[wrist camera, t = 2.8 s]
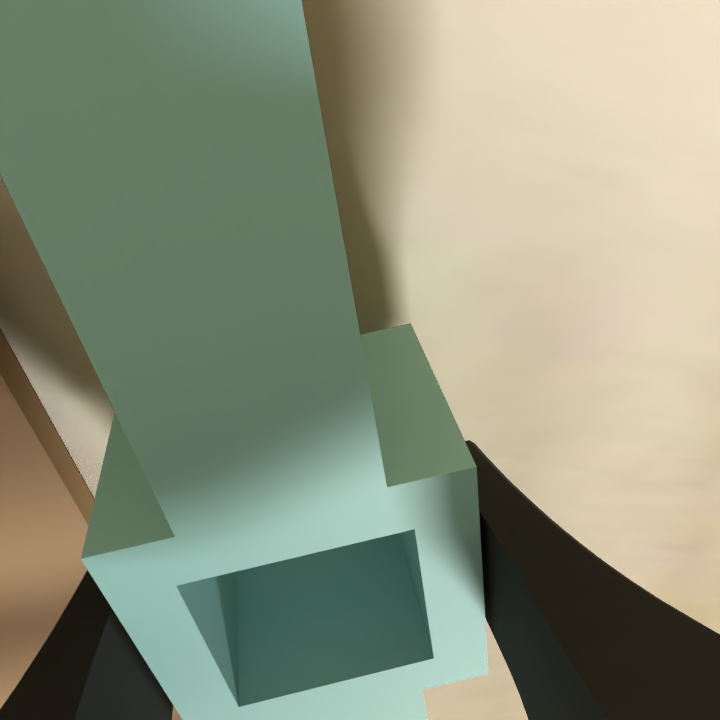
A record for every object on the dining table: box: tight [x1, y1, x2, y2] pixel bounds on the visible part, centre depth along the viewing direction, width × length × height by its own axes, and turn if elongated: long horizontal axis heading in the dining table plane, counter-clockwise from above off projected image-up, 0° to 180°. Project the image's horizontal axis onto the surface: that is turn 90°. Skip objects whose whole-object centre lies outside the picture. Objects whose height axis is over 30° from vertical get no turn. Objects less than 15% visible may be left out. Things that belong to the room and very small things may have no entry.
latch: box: [0, 0, 488, 720], centre depth 13 cm, size 23×6×4 cm, turn 9°
